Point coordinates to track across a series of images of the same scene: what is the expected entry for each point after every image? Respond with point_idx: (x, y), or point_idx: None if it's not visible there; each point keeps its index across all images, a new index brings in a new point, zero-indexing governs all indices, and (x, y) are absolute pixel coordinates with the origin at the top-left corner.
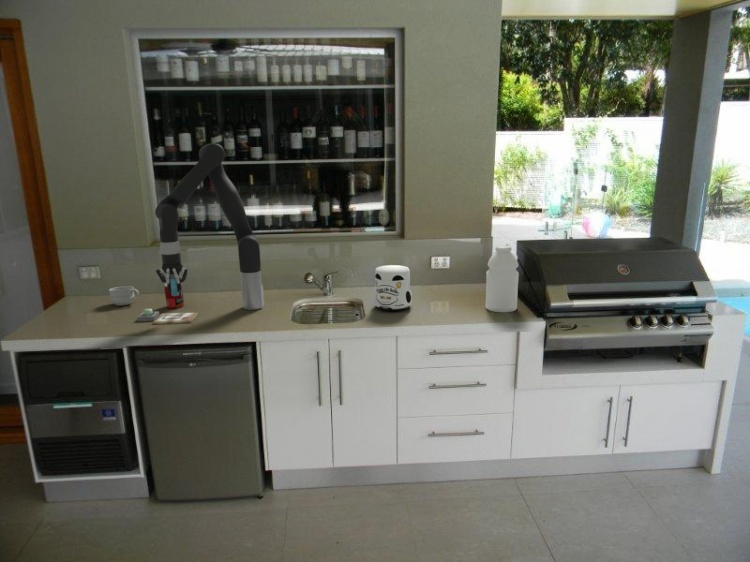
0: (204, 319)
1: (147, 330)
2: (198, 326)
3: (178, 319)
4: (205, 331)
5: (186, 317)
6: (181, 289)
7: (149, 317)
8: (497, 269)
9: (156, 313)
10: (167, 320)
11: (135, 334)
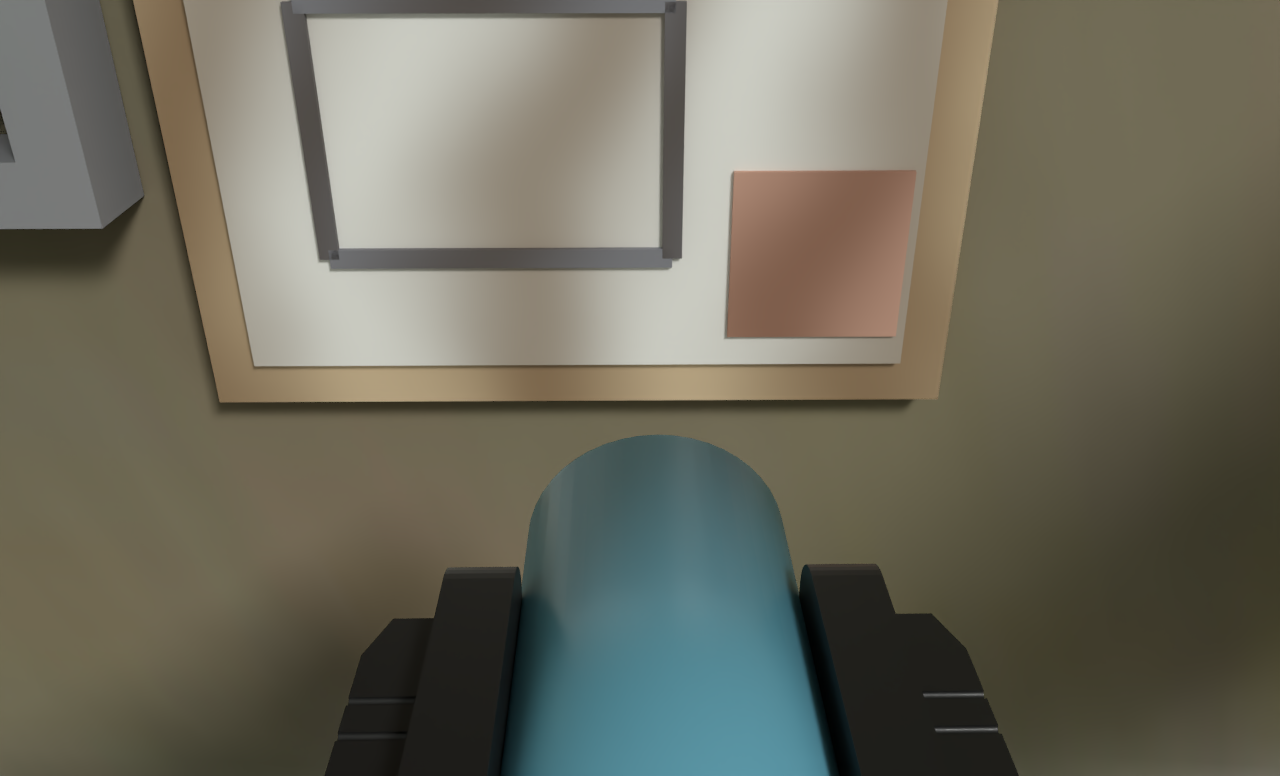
0: (1168, 202)
1: (299, 642)
2: (1075, 547)
3: (677, 313)
4: (1189, 733)
5: (819, 220)
6: (937, 641)
7: (17, 220)
8: None
9: (40, 10)
10: (473, 351)
11: (208, 762)
